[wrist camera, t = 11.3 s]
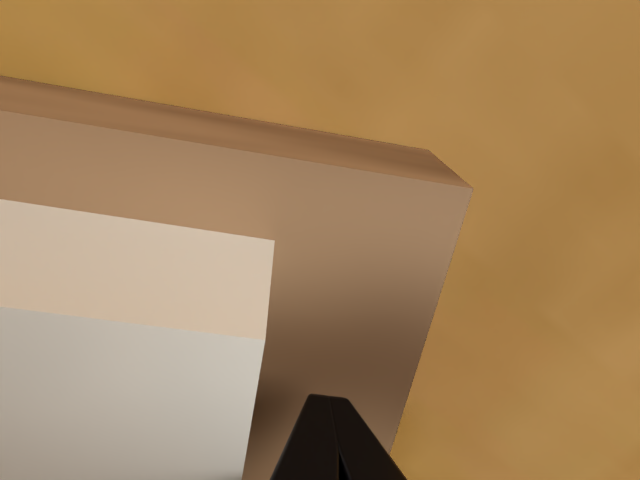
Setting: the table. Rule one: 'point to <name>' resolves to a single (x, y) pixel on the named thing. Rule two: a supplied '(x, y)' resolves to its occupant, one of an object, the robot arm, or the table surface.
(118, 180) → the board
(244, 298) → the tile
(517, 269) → the table surface
